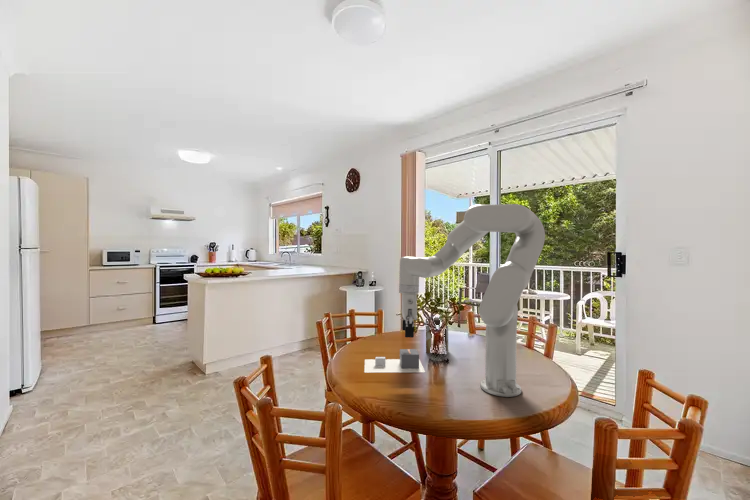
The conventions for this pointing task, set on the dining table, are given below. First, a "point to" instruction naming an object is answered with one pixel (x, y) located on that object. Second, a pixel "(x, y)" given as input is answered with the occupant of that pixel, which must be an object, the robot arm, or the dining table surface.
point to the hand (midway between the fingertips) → (407, 333)
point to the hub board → (387, 366)
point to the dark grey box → (409, 359)
